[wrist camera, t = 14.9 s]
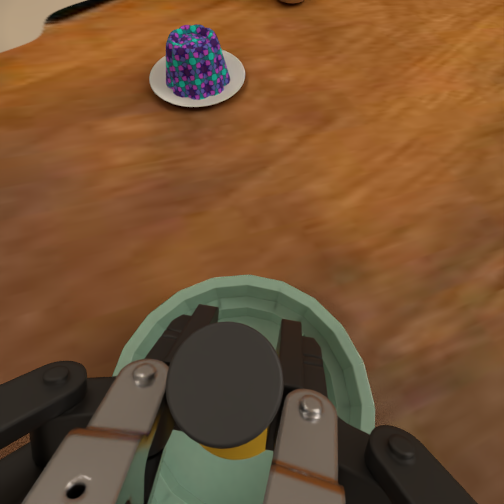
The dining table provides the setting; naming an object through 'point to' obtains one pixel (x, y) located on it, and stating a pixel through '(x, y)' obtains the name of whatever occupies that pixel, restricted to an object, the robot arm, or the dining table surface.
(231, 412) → the black peg yellow base
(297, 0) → the plastic bottle
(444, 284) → the dining table surface
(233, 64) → the pudding
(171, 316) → the bowl
